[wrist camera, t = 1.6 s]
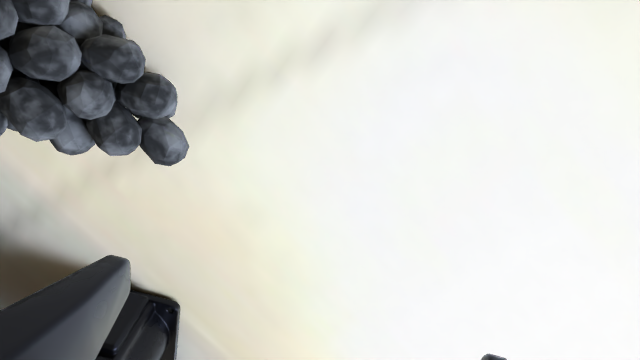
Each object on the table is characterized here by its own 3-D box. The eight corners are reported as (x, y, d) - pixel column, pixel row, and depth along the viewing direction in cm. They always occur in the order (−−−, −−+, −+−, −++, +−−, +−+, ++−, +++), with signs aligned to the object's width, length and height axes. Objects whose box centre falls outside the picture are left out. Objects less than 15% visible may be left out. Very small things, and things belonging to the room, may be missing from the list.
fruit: (142, 212, 13) (-450, -213, 9) (81, 278, 19) (-303, 33, 15) (258, 72, 19) (-74, -227, 15) (185, 154, 25) (-71, -47, 21)
